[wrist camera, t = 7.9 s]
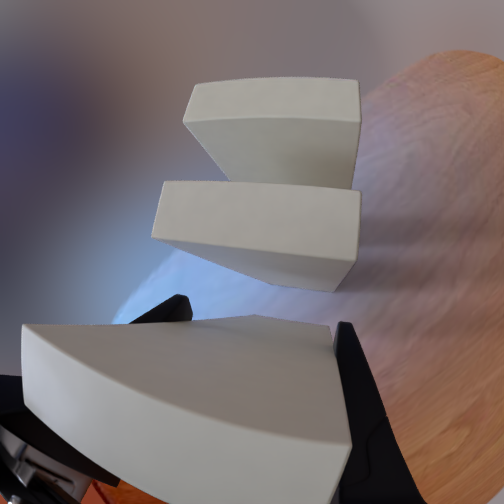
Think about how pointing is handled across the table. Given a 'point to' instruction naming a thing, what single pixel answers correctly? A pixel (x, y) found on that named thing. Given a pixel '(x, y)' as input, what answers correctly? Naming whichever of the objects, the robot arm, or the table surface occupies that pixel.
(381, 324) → the table surface
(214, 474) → the slim cream book
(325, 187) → the cream books
